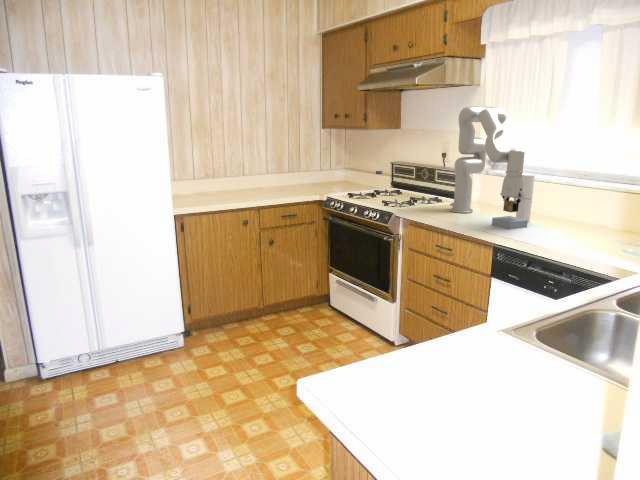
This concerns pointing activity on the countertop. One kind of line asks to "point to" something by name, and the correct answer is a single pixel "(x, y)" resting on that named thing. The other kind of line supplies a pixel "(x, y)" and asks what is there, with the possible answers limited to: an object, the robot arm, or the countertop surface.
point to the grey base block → (509, 222)
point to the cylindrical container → (526, 197)
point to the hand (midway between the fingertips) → (510, 209)
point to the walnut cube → (509, 206)
